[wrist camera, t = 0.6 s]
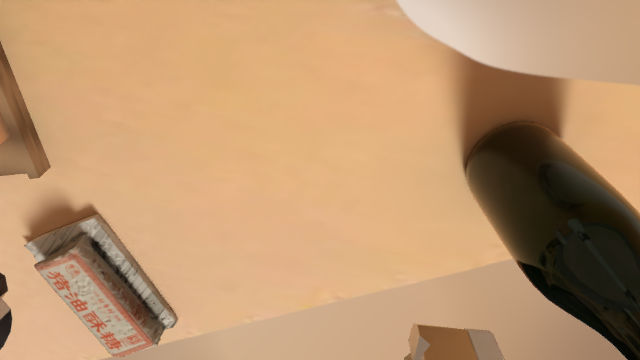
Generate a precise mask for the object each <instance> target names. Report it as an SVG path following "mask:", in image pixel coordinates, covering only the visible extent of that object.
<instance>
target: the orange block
mask: <svg viewBox="0 0 640 360" xmlns="http://www.w3.org/2000/svg"><path fill="white" fill-rule="evenodd" d="M9 137H11V135H10V133H9V130H8V128H7V126H6V123H5V121H4V119H3V116H2V114H1V112H0V144H1V143H2V142H4V141H5V140H7V139H8V138H9Z"/></svg>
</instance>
